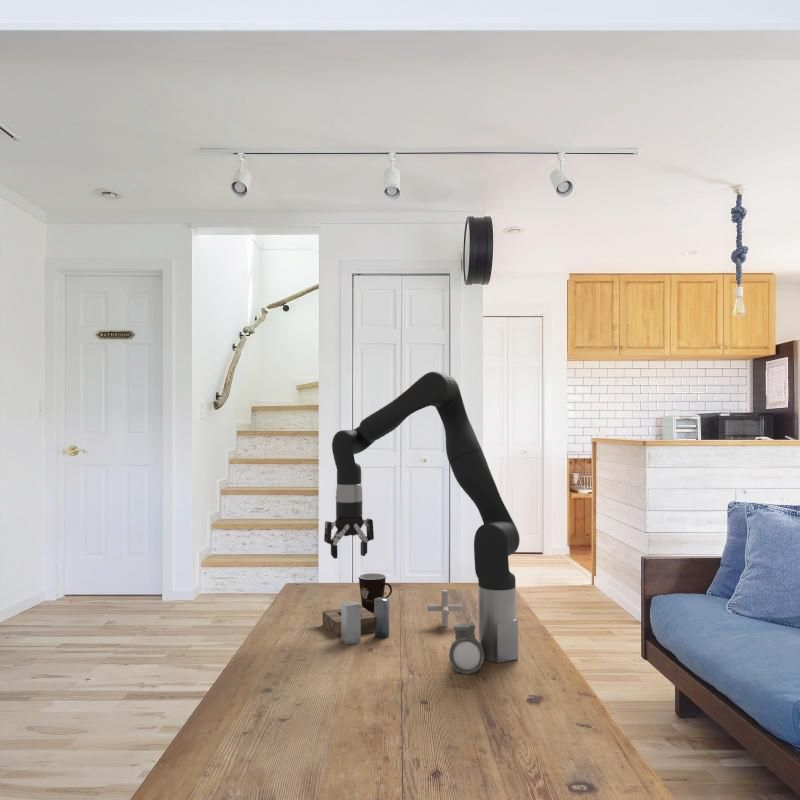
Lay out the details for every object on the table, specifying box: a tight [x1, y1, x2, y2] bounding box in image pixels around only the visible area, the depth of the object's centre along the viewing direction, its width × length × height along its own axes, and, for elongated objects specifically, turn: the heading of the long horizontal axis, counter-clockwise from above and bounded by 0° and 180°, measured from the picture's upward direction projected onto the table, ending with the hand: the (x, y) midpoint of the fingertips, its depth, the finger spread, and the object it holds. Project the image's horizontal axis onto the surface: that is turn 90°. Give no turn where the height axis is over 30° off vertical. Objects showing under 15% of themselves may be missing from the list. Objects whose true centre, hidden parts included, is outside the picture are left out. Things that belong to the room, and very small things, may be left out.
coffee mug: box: [358, 572, 393, 612], centre depth 203 cm, size 12×9×10 cm
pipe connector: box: [427, 589, 464, 628], centre depth 186 cm, size 10×10×10 cm
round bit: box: [373, 596, 390, 640], centre depth 178 cm, size 4×4×10 cm
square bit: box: [340, 600, 362, 645], centre depth 174 cm, size 4×4×10 cm
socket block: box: [322, 605, 375, 638], centre depth 185 cm, size 12×12×4 cm
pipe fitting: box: [448, 622, 485, 675], centre depth 156 cm, size 12×8×10 cm
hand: (349, 556), depth 185 cm, fingers open, 8 cm apart
